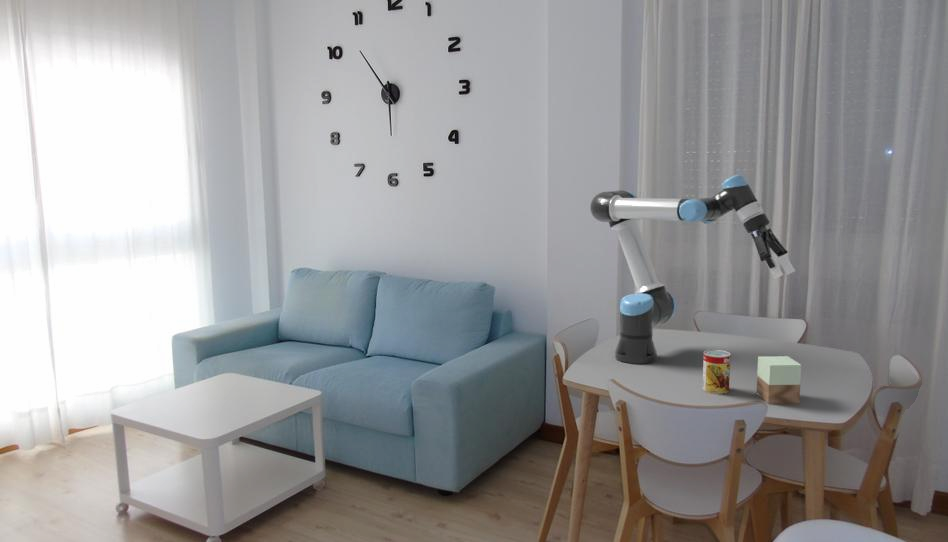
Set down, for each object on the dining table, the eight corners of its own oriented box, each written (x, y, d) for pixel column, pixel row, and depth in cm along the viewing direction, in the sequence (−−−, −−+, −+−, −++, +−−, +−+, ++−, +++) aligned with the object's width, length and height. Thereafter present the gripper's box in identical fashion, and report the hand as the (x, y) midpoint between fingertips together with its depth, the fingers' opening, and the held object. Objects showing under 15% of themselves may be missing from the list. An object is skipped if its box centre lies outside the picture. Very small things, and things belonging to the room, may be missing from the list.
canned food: (731, 394, 199) (733, 357, 197) (705, 393, 200) (706, 356, 198) (725, 385, 207) (727, 349, 205) (700, 385, 208) (701, 349, 206)
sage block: (769, 385, 190) (770, 365, 189) (757, 375, 198) (758, 356, 197) (800, 384, 189) (801, 365, 188) (787, 374, 198) (787, 356, 197)
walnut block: (768, 404, 190) (769, 384, 190) (756, 393, 199) (757, 375, 198) (799, 404, 190) (800, 384, 189) (786, 393, 199) (787, 375, 198)
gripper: (751, 213, 202) (784, 273, 197) (775, 211, 221) (806, 266, 216) (729, 224, 207) (762, 283, 202) (755, 222, 226) (785, 276, 221)
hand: (785, 275), depth 209 cm, fingers open, 13 cm apart
